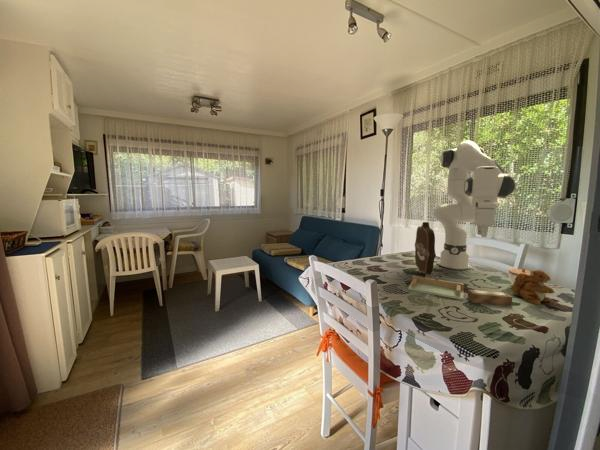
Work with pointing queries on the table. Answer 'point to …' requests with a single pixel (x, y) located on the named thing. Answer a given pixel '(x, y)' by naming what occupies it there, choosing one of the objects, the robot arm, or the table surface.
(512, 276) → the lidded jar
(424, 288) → the shallow tray
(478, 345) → the table surface
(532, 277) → the stuffed squirrel
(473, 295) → the brown rectangular block
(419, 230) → the decorative plaque
